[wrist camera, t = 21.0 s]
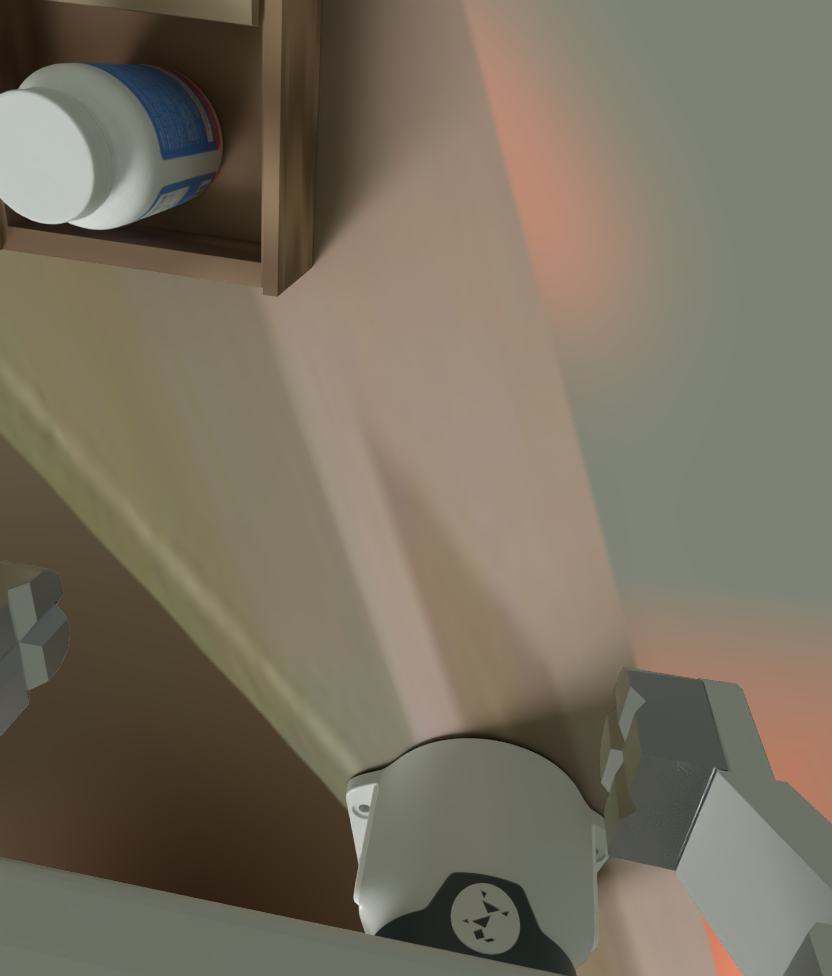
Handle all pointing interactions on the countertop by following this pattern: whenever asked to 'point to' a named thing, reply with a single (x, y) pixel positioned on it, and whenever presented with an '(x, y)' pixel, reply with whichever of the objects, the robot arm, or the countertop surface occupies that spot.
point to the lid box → (244, 124)
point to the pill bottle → (105, 143)
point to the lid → (187, 8)
